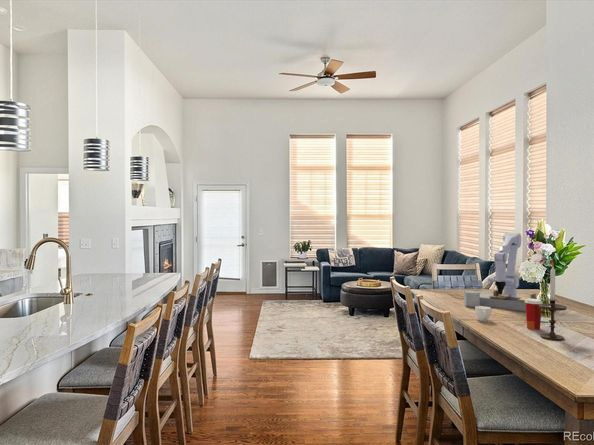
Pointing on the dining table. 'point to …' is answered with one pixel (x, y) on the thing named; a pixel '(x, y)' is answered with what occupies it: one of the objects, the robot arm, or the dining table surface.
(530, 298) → the ash panel
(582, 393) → the dining table surface
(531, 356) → the dining table surface
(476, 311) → the cup
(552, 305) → the candlestick
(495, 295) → the wooden sliding lid
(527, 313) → the paper cup
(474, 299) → the medicine box
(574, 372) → the dining table surface
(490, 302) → the lid box
